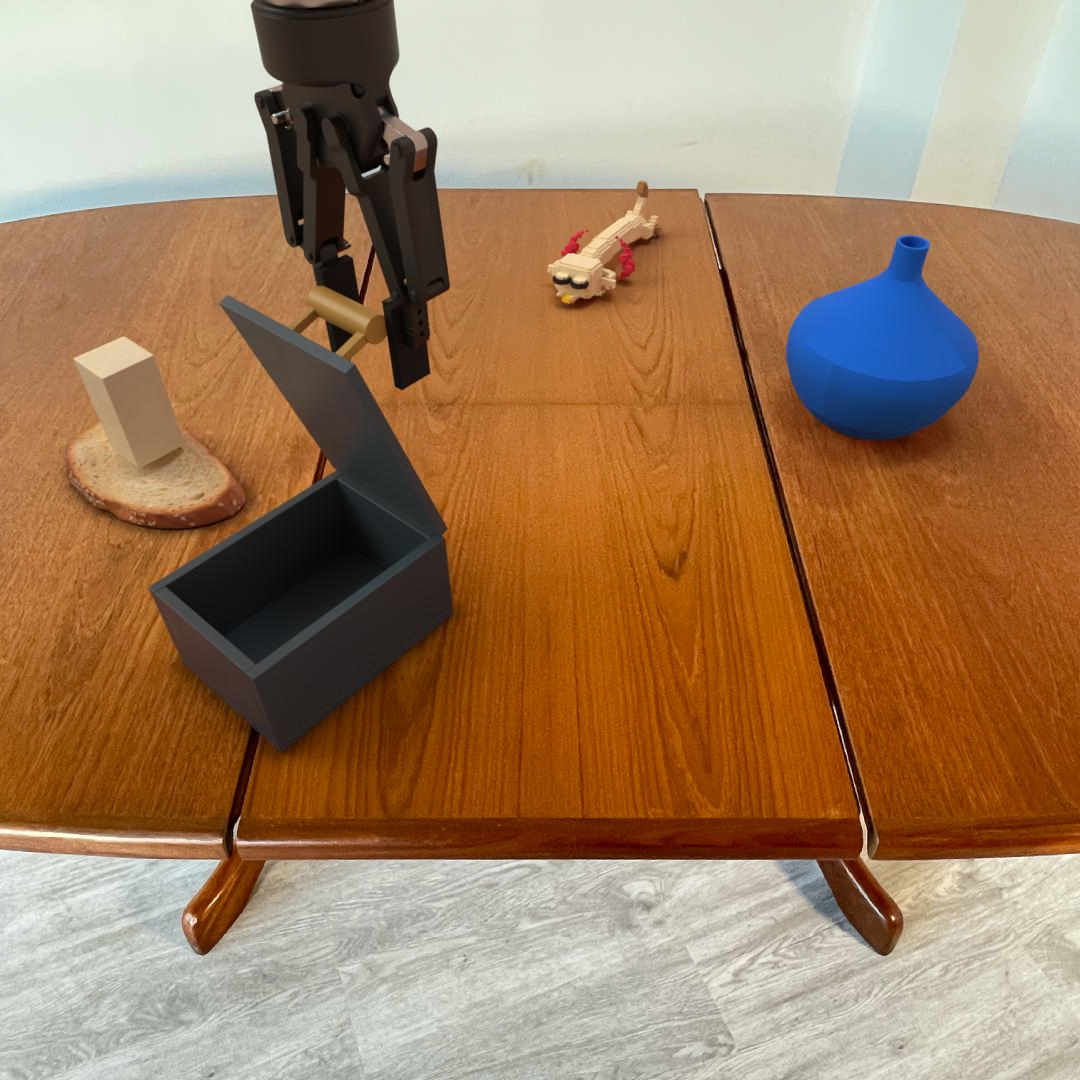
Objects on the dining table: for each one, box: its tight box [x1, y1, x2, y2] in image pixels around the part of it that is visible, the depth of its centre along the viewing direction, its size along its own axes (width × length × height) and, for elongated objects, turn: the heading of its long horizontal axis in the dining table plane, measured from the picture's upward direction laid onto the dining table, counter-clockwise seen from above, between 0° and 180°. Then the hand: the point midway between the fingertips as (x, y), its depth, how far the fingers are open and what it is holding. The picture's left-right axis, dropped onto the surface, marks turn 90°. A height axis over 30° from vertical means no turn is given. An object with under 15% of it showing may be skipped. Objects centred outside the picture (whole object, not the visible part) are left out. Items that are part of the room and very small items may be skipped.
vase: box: [785, 234, 980, 441], centre depth 87 cm, size 18×18×19 cm
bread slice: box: [64, 420, 247, 530], centre depth 86 cm, size 18×18×4 cm
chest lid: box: [218, 286, 449, 536], centre depth 63 cm, size 19×13×6 cm
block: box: [72, 335, 185, 468], centre depth 81 cm, size 5×5×10 cm
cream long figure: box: [547, 180, 663, 305], centre depth 115 cm, size 10×9×25 cm
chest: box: [147, 469, 454, 754], centre depth 69 cm, size 18×13×9 cm
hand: (380, 362), depth 63 cm, fingers closed on chest lid, 6 cm apart
